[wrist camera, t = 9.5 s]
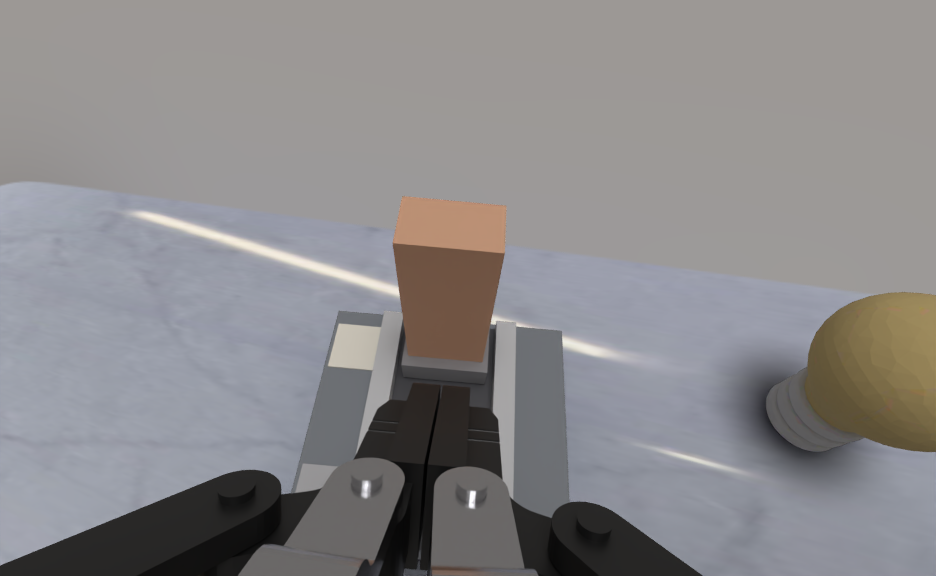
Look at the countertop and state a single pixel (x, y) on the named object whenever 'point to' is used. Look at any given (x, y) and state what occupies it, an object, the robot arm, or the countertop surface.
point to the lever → (448, 285)
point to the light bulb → (865, 378)
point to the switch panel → (381, 378)
